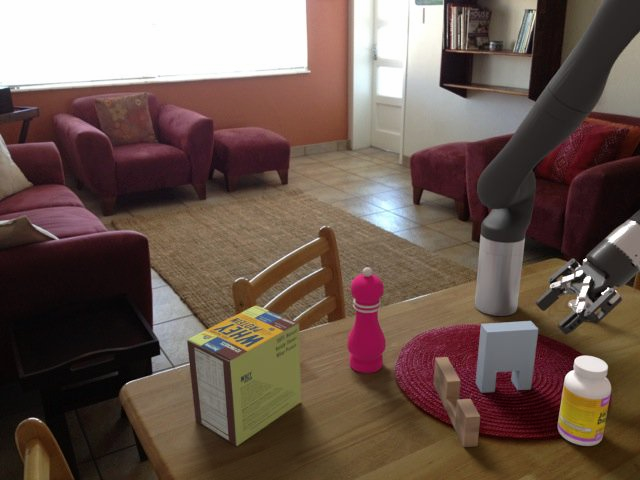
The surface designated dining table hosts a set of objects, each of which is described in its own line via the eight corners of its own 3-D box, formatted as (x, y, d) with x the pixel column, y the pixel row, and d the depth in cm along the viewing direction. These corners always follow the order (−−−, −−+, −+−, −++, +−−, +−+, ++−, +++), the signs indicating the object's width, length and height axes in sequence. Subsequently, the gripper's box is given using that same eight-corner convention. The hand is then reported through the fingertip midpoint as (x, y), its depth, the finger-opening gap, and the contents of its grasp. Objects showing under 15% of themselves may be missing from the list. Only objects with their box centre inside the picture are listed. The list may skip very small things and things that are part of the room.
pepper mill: (390, 359, 117) (393, 263, 110) (377, 378, 111) (379, 278, 104) (355, 351, 120) (356, 257, 113) (341, 369, 114) (340, 271, 107)
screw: (567, 316, 133) (566, 306, 137) (591, 319, 131) (589, 309, 136) (575, 261, 128) (574, 253, 133) (600, 264, 127) (598, 255, 131)
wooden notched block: (433, 384, 109) (435, 357, 107) (445, 383, 110) (447, 356, 108) (463, 447, 93) (466, 417, 92) (477, 446, 94) (480, 416, 92)
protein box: (302, 401, 105) (300, 321, 100) (236, 448, 94) (229, 361, 89) (260, 380, 111) (255, 303, 106) (193, 421, 100) (184, 338, 95)
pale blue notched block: (481, 392, 107) (487, 332, 103) (475, 383, 110) (480, 323, 105) (530, 389, 107) (538, 329, 103) (523, 379, 110) (531, 320, 106)
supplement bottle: (598, 453, 92) (611, 380, 87) (552, 438, 95) (563, 367, 91) (605, 429, 97) (618, 359, 93) (561, 415, 100) (572, 347, 96)
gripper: (588, 225, 107) (519, 288, 110) (636, 255, 94) (556, 325, 97) (612, 251, 109) (544, 312, 112) (662, 284, 96) (583, 352, 99)
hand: (549, 318), depth 105 cm, fingers open, 8 cm apart
